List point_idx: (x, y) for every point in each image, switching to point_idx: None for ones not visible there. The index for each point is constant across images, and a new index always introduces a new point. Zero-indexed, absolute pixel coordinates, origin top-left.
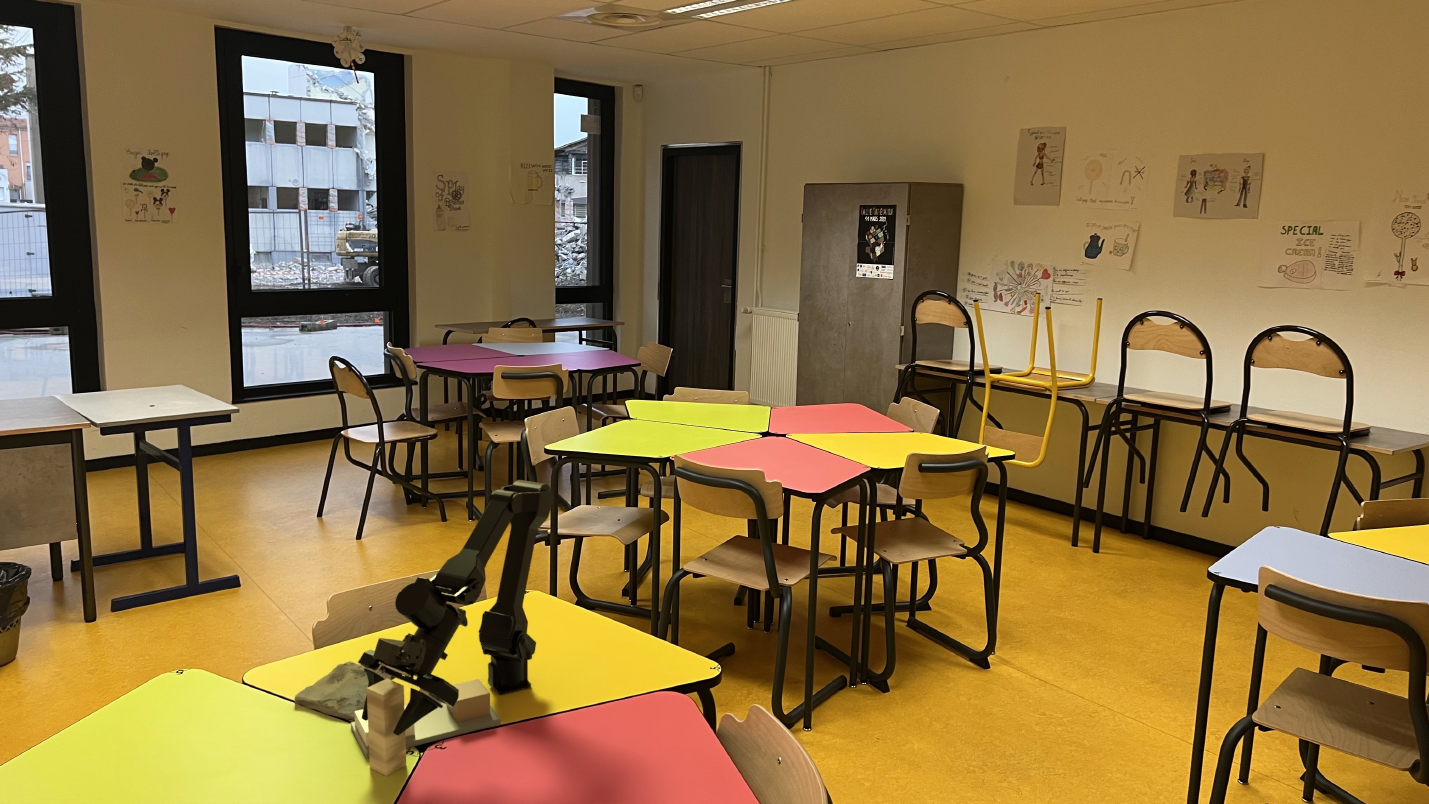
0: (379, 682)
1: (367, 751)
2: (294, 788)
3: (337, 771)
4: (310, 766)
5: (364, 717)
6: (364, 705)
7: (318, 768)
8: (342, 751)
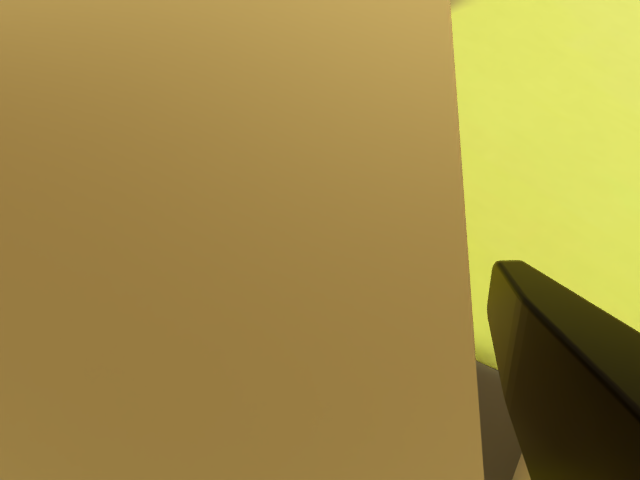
0: (445, 425)
1: (481, 375)
2: (500, 8)
3: (474, 195)
4: (621, 144)
5: (496, 279)
6: (601, 312)
7: (573, 156)
8: (636, 329)
